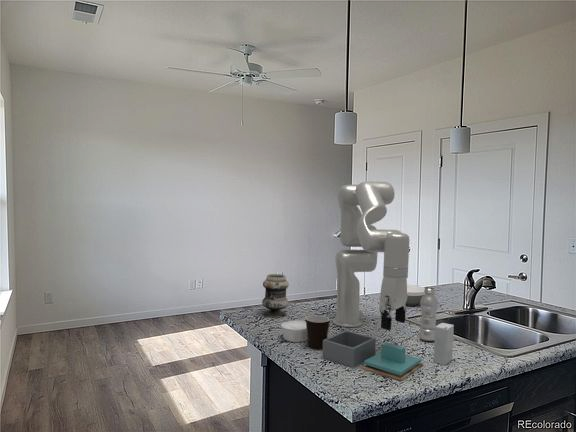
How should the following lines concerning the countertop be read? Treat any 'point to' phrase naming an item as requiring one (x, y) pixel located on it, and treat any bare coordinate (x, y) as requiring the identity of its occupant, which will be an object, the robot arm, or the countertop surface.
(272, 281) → the apothecary jar
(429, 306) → the plastic bottle
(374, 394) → the countertop surface
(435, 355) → the skincare box
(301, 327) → the ramekin
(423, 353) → the countertop surface
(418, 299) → the bowl
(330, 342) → the tub
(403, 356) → the lid
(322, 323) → the coffee mug
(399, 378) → the wooden board
